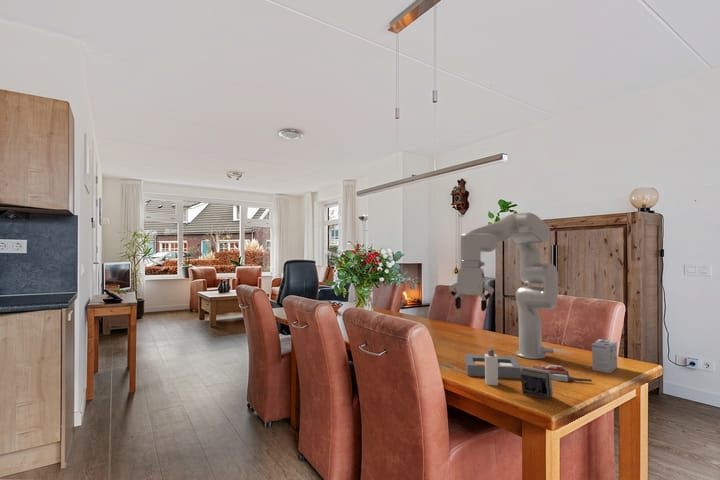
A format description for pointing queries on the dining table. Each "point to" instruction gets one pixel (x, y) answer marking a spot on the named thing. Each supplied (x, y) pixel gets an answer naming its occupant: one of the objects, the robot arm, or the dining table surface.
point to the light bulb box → (604, 355)
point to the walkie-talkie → (560, 373)
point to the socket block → (506, 366)
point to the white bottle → (491, 368)
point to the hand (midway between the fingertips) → (470, 309)
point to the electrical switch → (536, 382)
